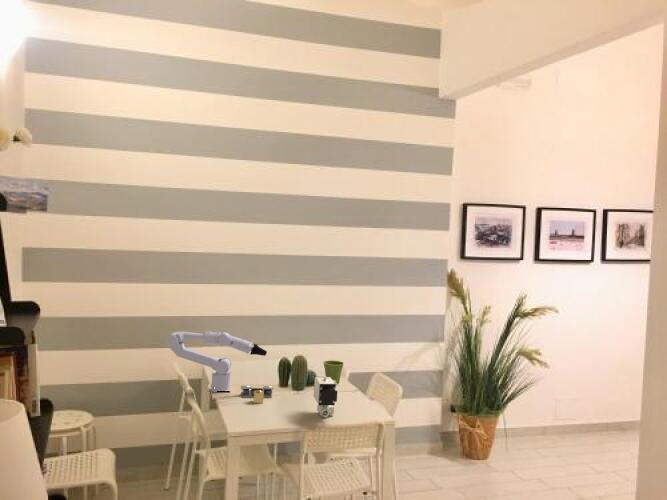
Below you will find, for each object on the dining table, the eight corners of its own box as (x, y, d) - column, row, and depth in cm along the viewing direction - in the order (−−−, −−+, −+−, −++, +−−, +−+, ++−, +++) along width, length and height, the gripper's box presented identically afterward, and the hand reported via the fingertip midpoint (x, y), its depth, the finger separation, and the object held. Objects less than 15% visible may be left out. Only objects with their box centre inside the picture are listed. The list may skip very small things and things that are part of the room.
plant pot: (343, 380, 341) (345, 361, 341) (342, 386, 329) (343, 365, 329) (323, 379, 342) (324, 359, 342) (320, 384, 330) (321, 364, 330)
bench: (241, 397, 297) (241, 388, 297) (240, 392, 307) (240, 383, 306) (273, 397, 300) (274, 388, 300) (272, 392, 310) (272, 383, 309)
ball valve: (337, 421, 269) (339, 381, 268) (318, 421, 267) (321, 381, 267) (329, 409, 287) (331, 371, 286) (312, 409, 285) (314, 371, 284)
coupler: (253, 403, 289) (254, 391, 289) (253, 401, 293) (254, 389, 293) (263, 403, 290) (263, 391, 290) (262, 401, 294) (263, 389, 293)
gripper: (242, 337, 300) (268, 346, 300) (244, 337, 315) (269, 346, 315) (237, 350, 299) (263, 359, 299) (240, 350, 314) (264, 359, 314)
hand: (266, 353), depth 307 cm, fingers open, 7 cm apart
